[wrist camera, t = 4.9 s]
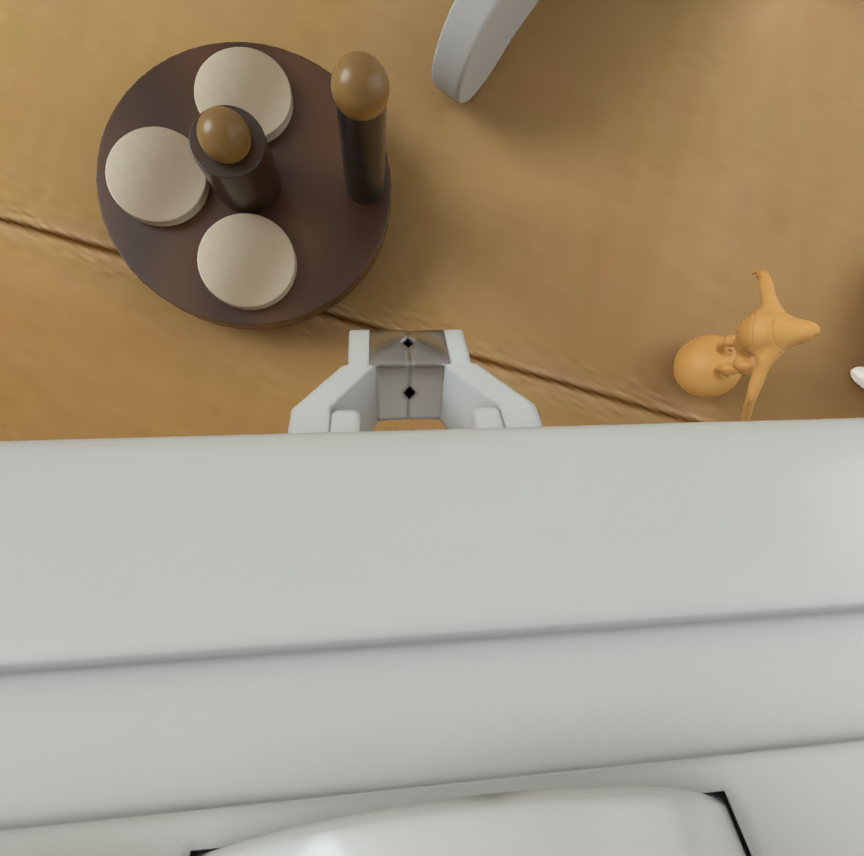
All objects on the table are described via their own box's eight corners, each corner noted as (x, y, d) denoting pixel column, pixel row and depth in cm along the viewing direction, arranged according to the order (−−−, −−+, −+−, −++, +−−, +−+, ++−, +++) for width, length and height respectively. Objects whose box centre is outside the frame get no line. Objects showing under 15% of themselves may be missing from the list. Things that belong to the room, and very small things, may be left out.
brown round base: (109, 330, 29) (-47, 267, 18) (104, 50, 29) (-52, -174, 18) (394, 328, 30) (403, 270, 20) (387, 64, 31) (392, -132, 20)
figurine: (708, 434, 34) (884, 433, 23) (625, 423, 34) (760, 415, 22) (722, 314, 35) (902, 250, 23) (639, 301, 34) (779, 227, 22)
